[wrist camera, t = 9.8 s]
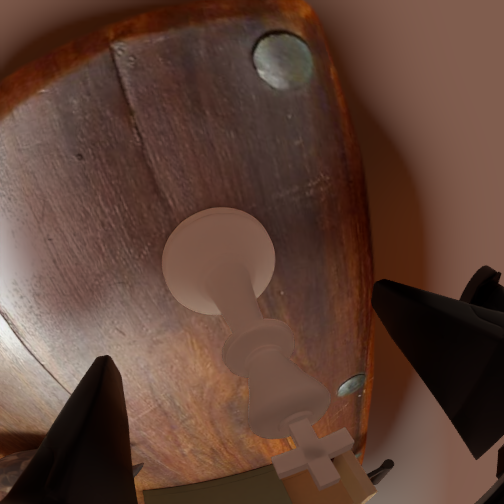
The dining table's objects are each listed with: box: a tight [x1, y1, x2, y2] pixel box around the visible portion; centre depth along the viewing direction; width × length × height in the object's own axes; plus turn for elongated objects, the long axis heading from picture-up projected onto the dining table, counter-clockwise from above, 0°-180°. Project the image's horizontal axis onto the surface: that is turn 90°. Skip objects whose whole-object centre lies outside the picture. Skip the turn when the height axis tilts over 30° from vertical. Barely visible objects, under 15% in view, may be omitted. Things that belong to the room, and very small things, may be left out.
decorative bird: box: [0, 449, 144, 493], centre depth 13 cm, size 6×25×5 cm, turn 96°
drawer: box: [281, 450, 394, 504], centre depth 24 cm, size 18×11×7 cm, turn 96°
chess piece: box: [162, 207, 354, 491], centre depth 9 cm, size 5×5×10 cm
